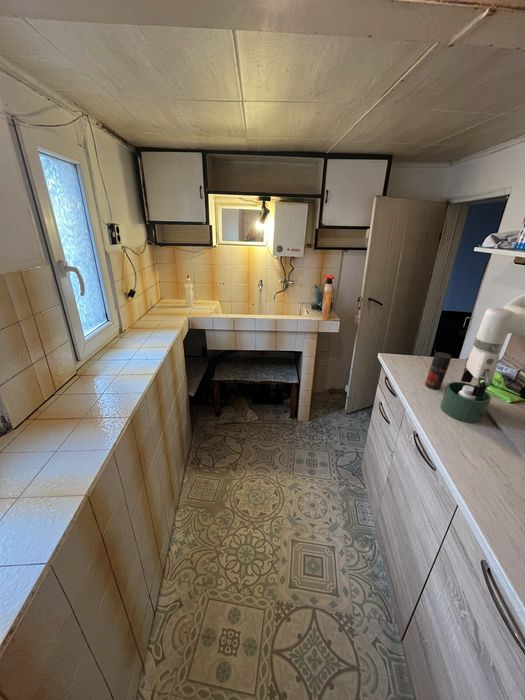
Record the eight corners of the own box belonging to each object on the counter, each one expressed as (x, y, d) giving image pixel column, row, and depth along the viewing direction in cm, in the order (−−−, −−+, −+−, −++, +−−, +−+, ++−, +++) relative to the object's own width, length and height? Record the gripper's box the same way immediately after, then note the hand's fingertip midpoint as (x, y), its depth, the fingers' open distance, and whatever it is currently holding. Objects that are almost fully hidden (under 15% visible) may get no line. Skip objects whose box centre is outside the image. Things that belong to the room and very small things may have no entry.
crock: (472, 404, 110) (481, 385, 106) (488, 426, 98) (498, 405, 94) (435, 398, 113) (442, 379, 109) (446, 419, 101) (454, 398, 97)
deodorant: (424, 381, 125) (434, 350, 119) (439, 384, 123) (450, 354, 117) (425, 387, 120) (435, 356, 114) (440, 391, 118) (452, 359, 112)
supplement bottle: (451, 411, 105) (460, 388, 100) (452, 404, 109) (461, 382, 104) (469, 416, 102) (479, 394, 98) (469, 409, 106) (478, 387, 102)
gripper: (514, 357, 86) (494, 403, 93) (488, 337, 101) (472, 378, 108) (486, 354, 87) (469, 400, 94) (465, 334, 102) (451, 375, 110)
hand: (471, 388), depth 101 cm, fingers open, 9 cm apart
